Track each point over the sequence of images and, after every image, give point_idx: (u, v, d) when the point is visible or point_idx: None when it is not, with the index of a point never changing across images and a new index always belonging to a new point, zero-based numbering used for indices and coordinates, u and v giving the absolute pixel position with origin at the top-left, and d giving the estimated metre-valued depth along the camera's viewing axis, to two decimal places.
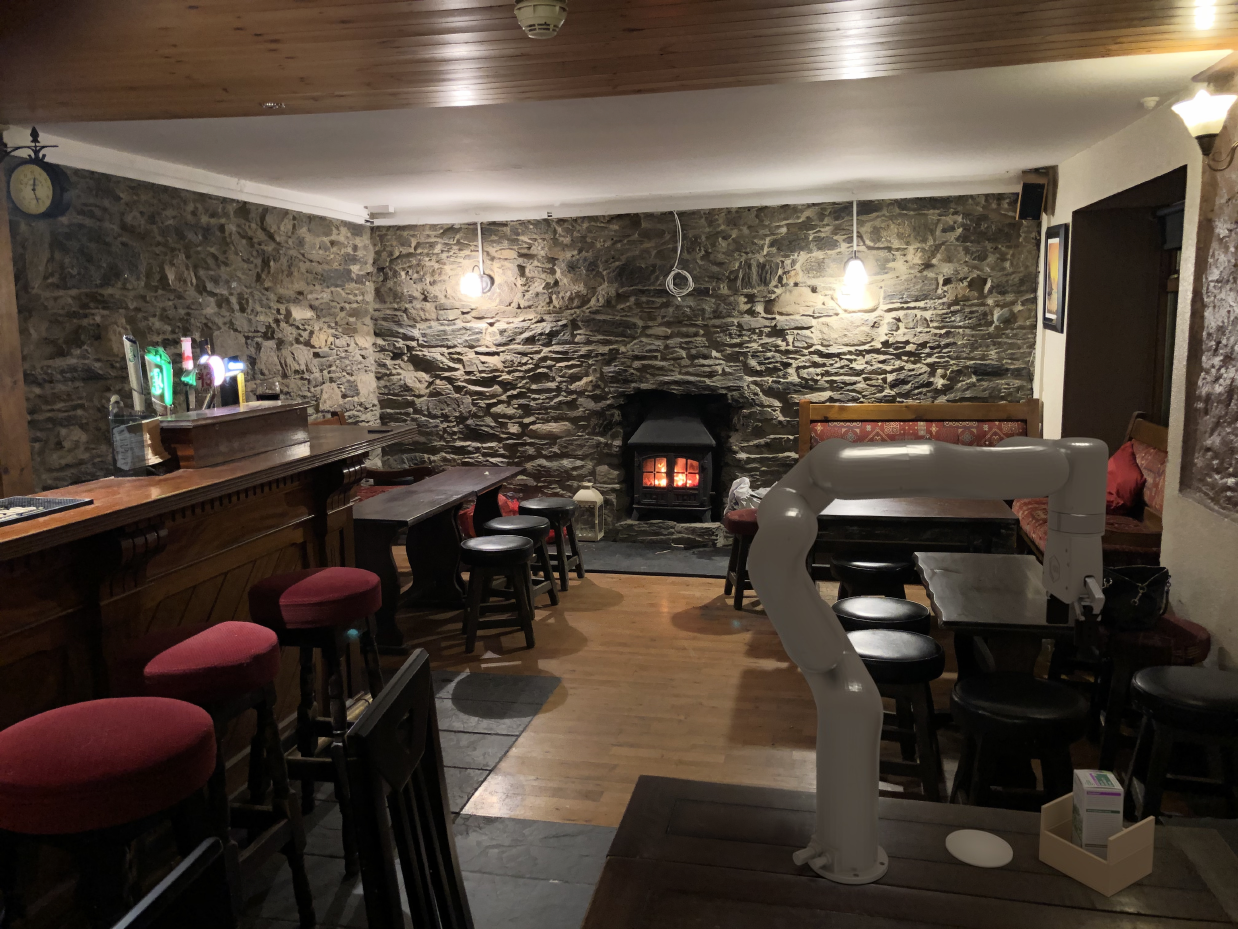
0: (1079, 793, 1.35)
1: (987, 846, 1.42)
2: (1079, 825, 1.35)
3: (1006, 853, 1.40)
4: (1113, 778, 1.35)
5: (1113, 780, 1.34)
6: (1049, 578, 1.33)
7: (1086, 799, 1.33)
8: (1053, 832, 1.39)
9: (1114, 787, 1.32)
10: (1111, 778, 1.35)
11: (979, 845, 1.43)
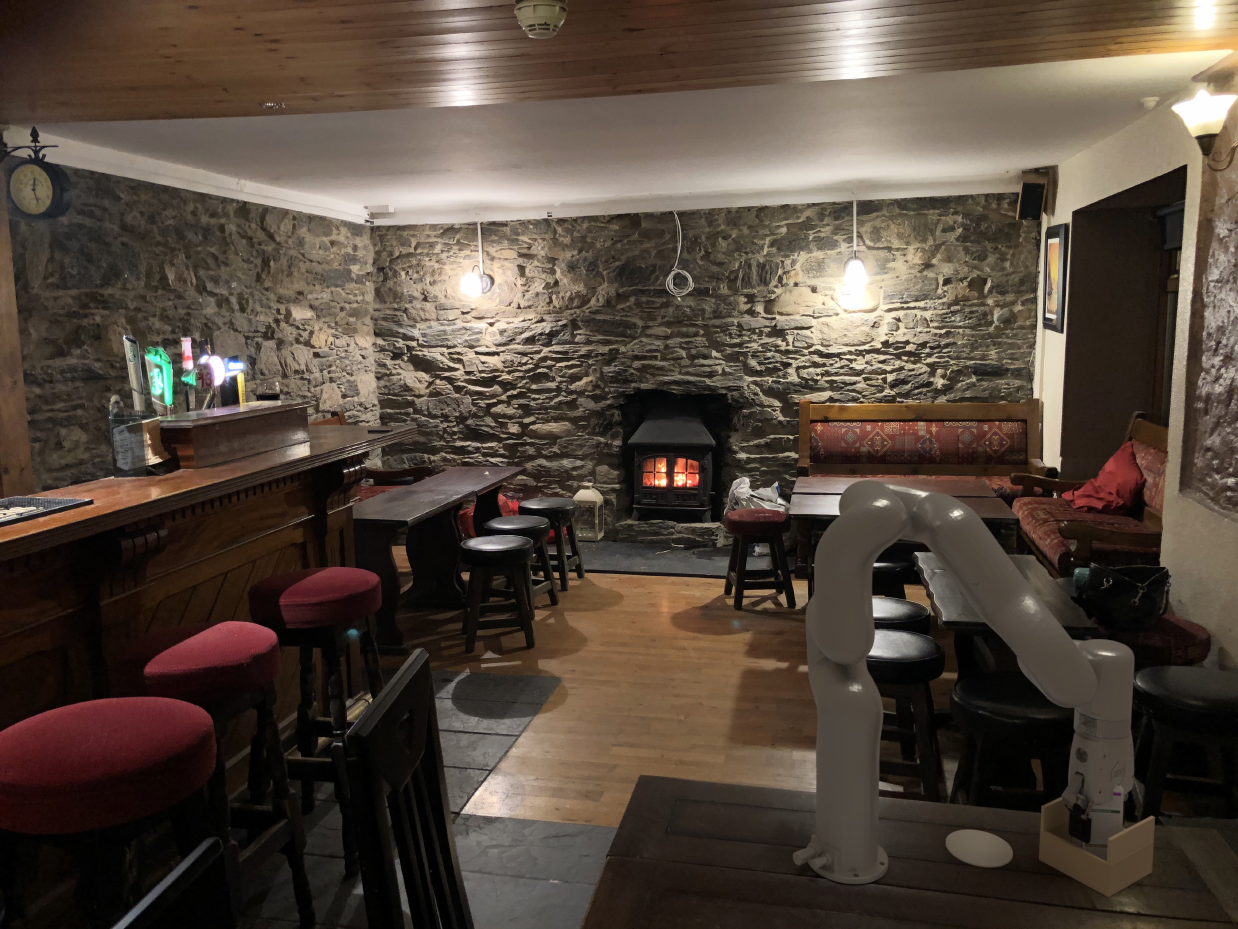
0: None
1: (987, 846, 1.42)
2: None
3: (1006, 853, 1.40)
4: None
5: None
6: (1111, 788, 1.32)
7: None
8: (1053, 832, 1.39)
9: None
10: None
11: (979, 845, 1.43)
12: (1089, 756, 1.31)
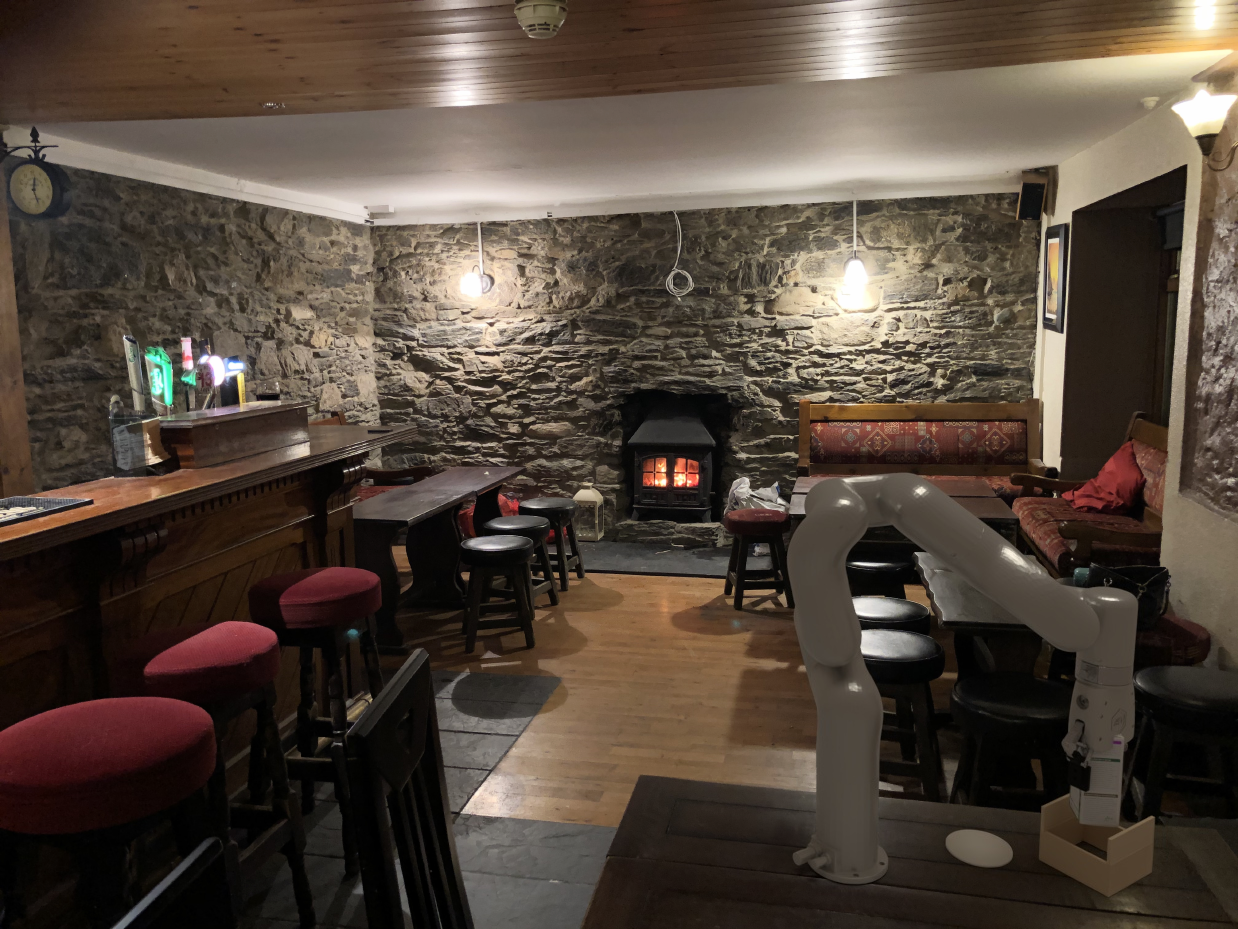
0: None
1: (987, 846, 1.42)
2: None
3: (1006, 853, 1.40)
4: None
5: None
6: (1111, 736, 1.31)
7: None
8: (1053, 832, 1.39)
9: None
10: None
11: (979, 845, 1.43)
12: (1090, 703, 1.30)
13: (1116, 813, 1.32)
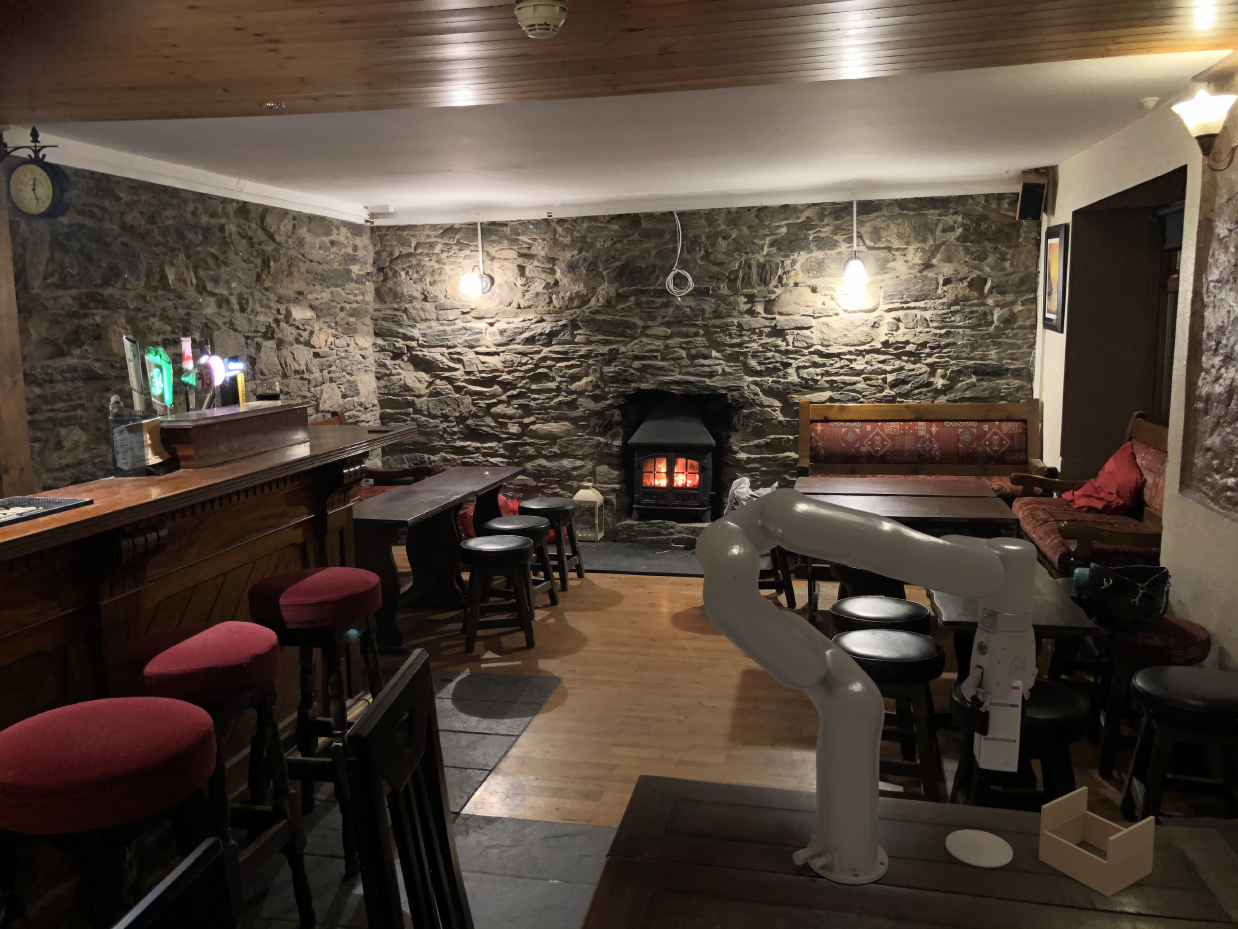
0: None
1: (987, 846, 1.42)
2: None
3: (1006, 853, 1.40)
4: None
5: None
6: (1010, 682, 1.34)
7: None
8: (1053, 832, 1.39)
9: None
10: None
11: (979, 845, 1.43)
12: (989, 648, 1.33)
13: (1014, 757, 1.36)
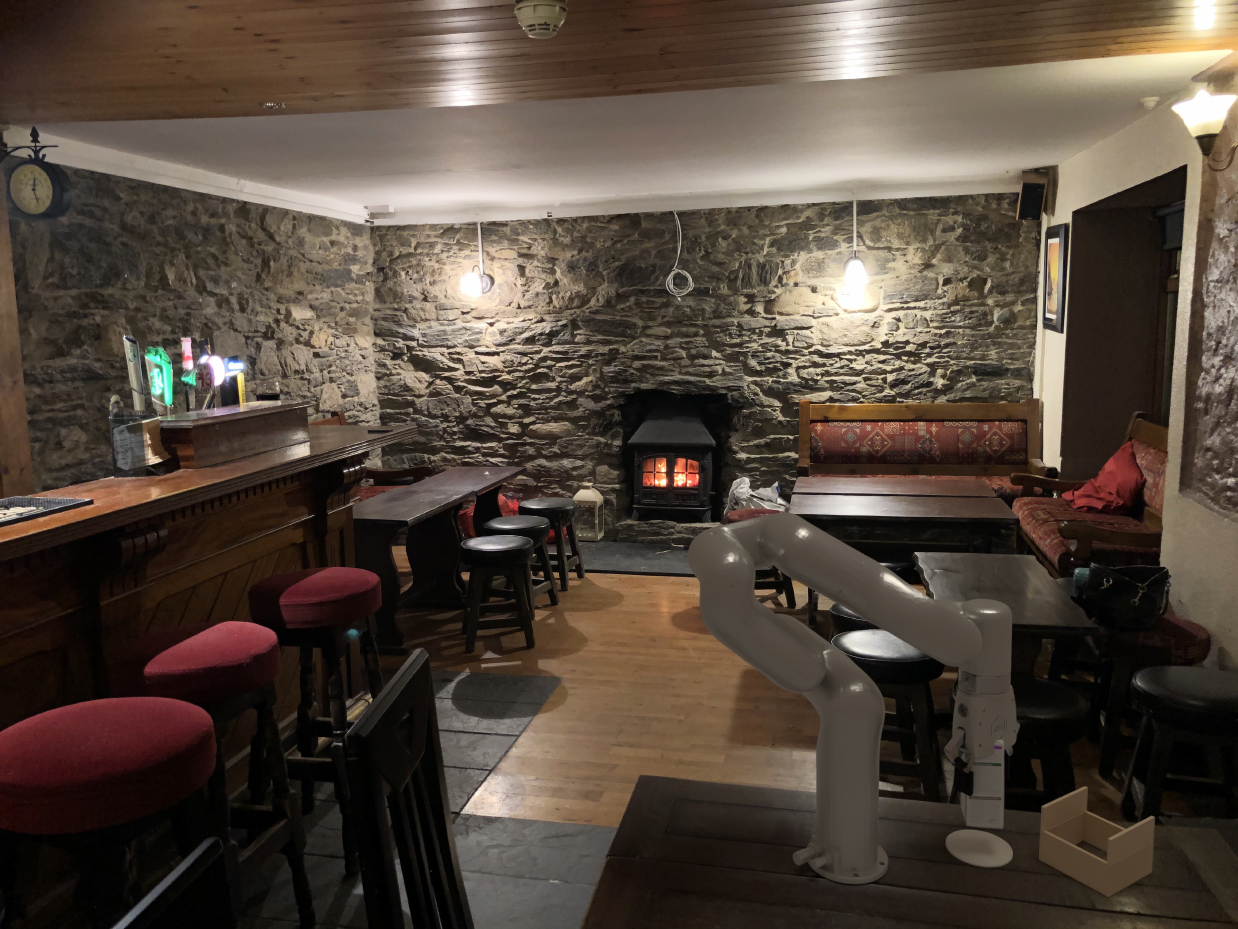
0: None
1: (987, 846, 1.42)
2: None
3: (1006, 853, 1.40)
4: None
5: None
6: (992, 742, 1.36)
7: None
8: (1053, 832, 1.39)
9: None
10: None
11: (979, 845, 1.43)
12: (969, 711, 1.35)
13: (1000, 814, 1.38)
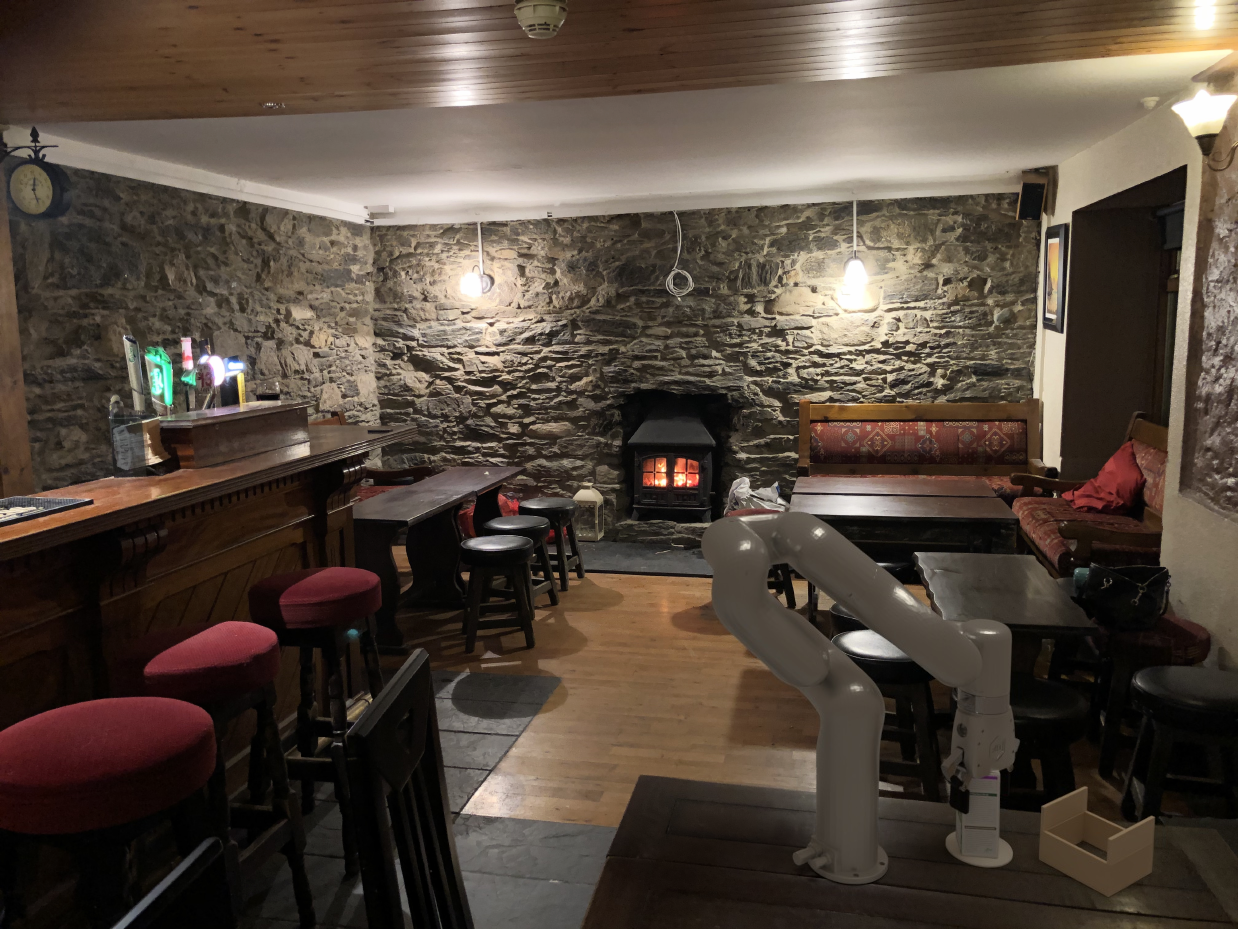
0: (960, 777, 1.40)
1: None
2: None
3: (1006, 853, 1.40)
4: None
5: None
6: (990, 762, 1.37)
7: None
8: (1053, 832, 1.39)
9: (991, 771, 1.37)
10: None
11: None
12: (968, 731, 1.36)
13: (995, 844, 1.39)
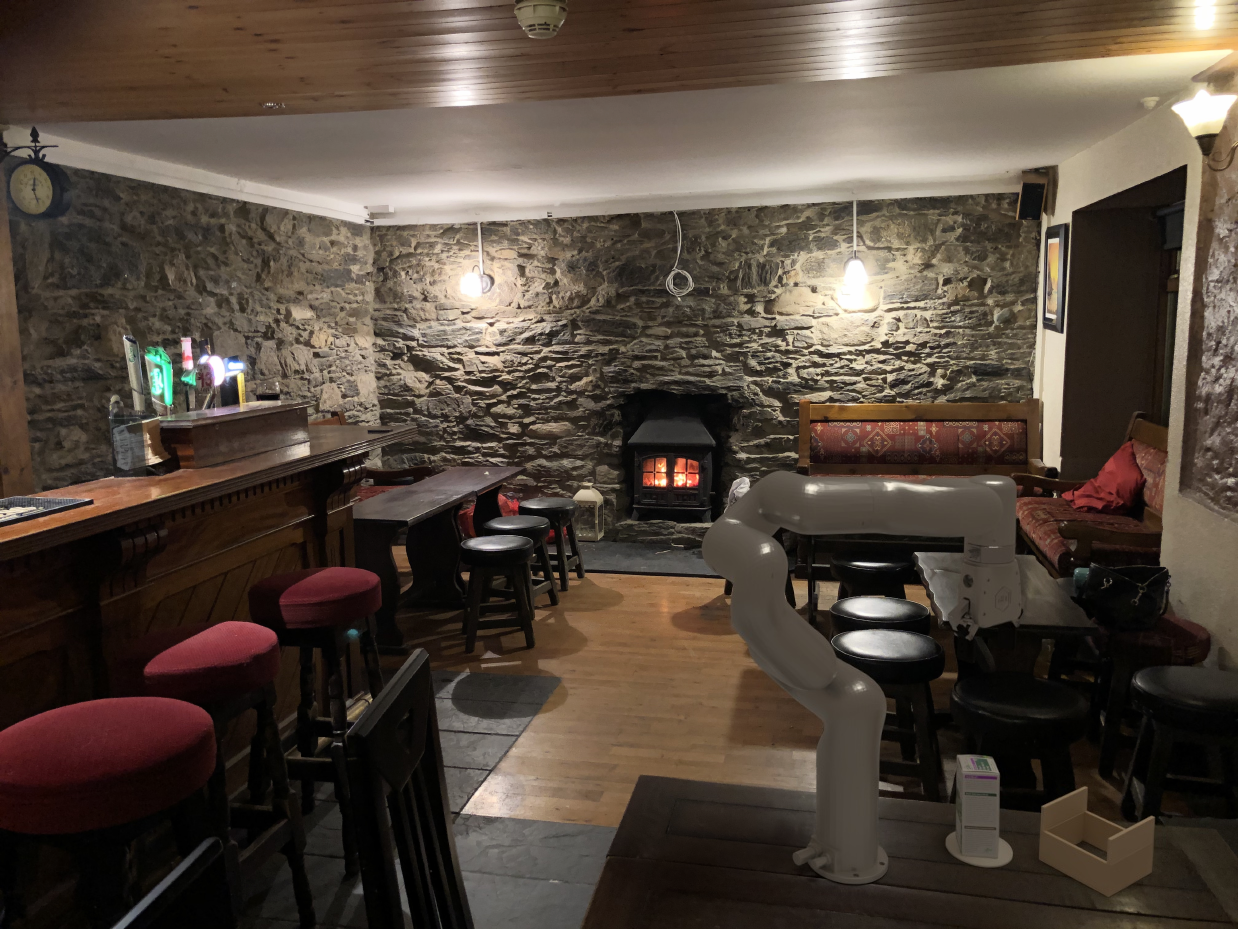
0: (959, 777, 1.40)
1: None
2: (959, 808, 1.40)
3: (1006, 853, 1.40)
4: (992, 762, 1.40)
5: (991, 764, 1.39)
6: (996, 612, 1.40)
7: (964, 782, 1.38)
8: (1053, 832, 1.39)
9: (990, 771, 1.37)
10: (990, 762, 1.40)
11: None
12: (974, 580, 1.39)
13: (995, 844, 1.39)
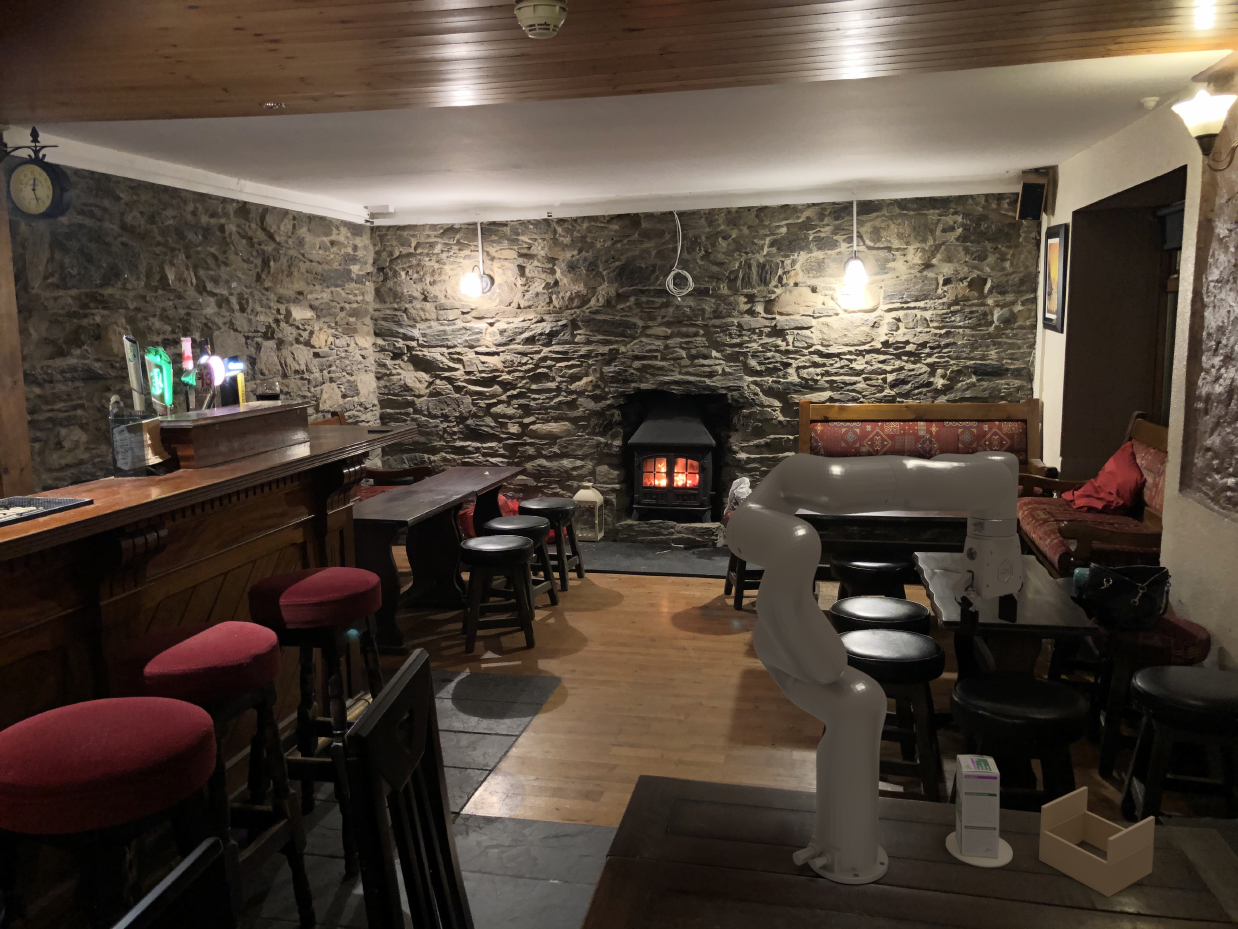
0: (959, 777, 1.40)
1: None
2: (959, 808, 1.40)
3: (1006, 853, 1.40)
4: (992, 762, 1.40)
5: (992, 764, 1.39)
6: (998, 584, 1.44)
7: (964, 782, 1.38)
8: (1053, 832, 1.39)
9: (990, 771, 1.37)
10: (990, 762, 1.40)
11: None
12: (978, 553, 1.43)
13: (995, 844, 1.39)
